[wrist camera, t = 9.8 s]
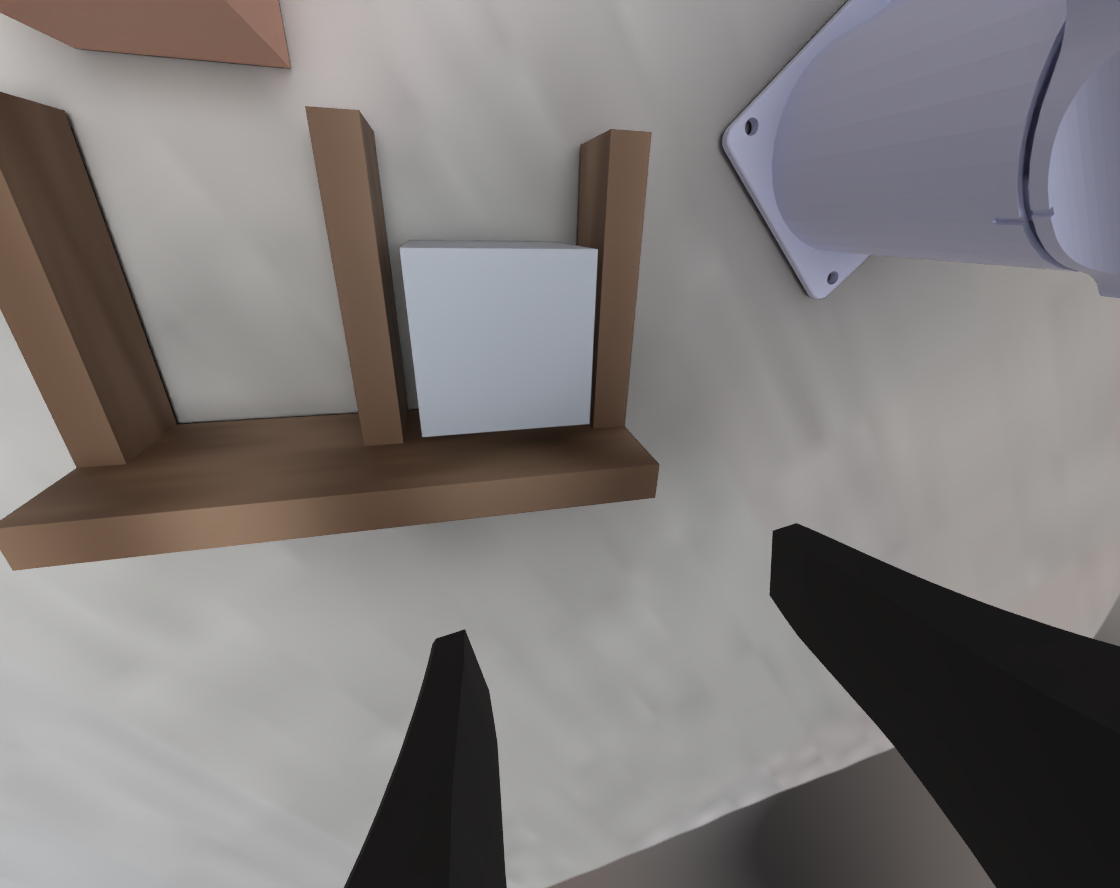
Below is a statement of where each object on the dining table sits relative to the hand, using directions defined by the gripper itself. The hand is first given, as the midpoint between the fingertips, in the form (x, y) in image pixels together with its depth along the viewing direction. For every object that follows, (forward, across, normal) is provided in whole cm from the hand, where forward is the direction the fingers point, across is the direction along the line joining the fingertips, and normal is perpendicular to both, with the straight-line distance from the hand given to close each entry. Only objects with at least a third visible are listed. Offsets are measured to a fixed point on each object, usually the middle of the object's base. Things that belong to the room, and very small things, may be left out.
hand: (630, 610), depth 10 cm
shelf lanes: (+10, +4, -7) cm, 13 cm away
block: (+10, +1, -5) cm, 12 cm away
